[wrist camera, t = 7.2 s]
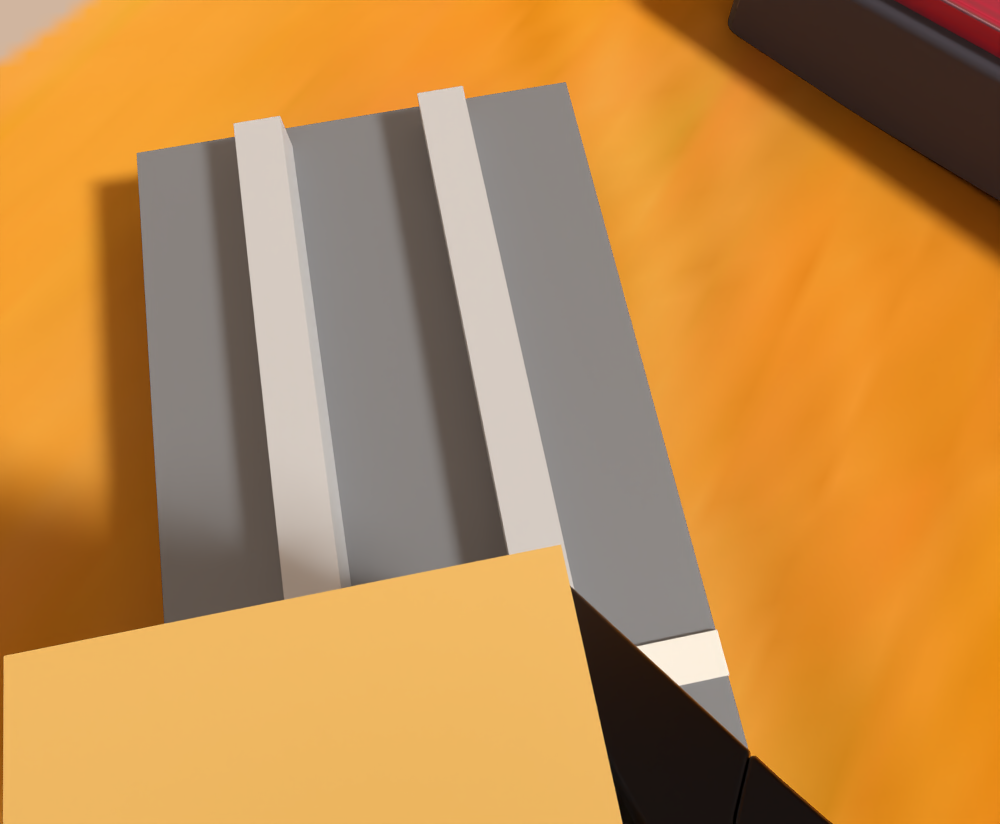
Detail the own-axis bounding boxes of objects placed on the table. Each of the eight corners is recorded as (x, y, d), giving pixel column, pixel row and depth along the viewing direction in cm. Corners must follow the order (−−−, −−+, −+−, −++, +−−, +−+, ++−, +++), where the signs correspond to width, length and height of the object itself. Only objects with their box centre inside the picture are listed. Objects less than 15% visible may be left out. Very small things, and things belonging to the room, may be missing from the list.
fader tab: (553, 782, 13) (698, 1164, 3) (379, 820, 13) (0, 1337, 3) (518, 605, 14) (552, 501, 4) (354, 638, 14) (3, 607, 4)
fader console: (766, 925, 14) (834, 994, 11) (236, 1048, 14) (165, 1154, 11) (559, 137, 20) (569, 49, 17) (173, 203, 19) (114, 123, 16)
